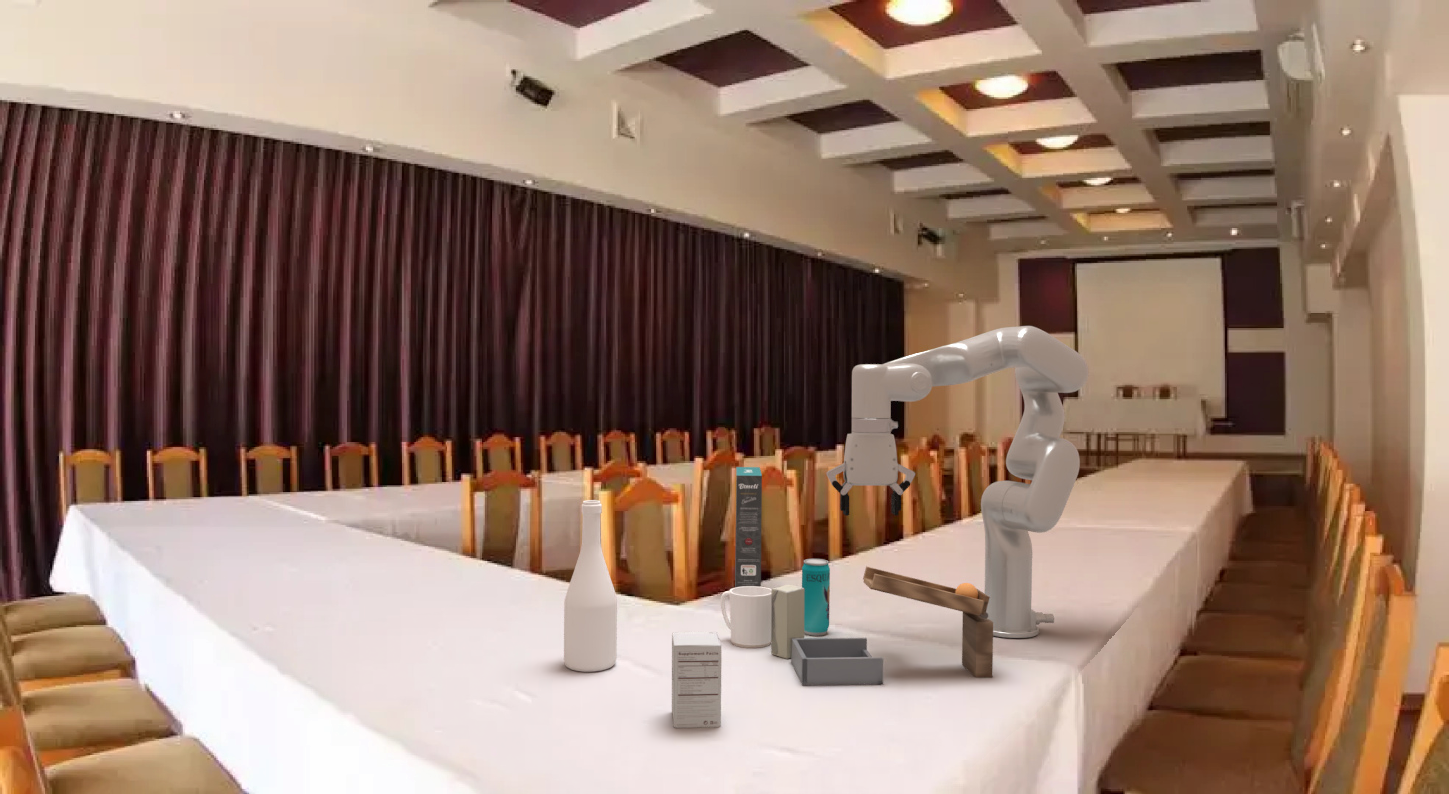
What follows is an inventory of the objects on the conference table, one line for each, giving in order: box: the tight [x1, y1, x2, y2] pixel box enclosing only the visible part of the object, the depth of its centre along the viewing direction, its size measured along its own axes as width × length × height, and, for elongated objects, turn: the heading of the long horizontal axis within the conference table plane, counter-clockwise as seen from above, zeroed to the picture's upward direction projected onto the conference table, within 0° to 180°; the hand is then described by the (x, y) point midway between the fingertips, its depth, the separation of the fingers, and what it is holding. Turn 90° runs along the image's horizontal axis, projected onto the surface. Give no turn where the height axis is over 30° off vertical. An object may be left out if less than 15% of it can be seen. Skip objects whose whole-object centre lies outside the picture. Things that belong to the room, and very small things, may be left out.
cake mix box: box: [734, 466, 763, 588], centre depth 229 cm, size 22×6×30 cm, turn 179°
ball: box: [955, 582, 978, 599], centre depth 167 cm, size 4×4×4 cm
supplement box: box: [671, 631, 722, 729], centre depth 142 cm, size 7×7×13 cm
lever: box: [862, 566, 990, 619], centre depth 171 cm, size 22×16×4 cm
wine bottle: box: [563, 499, 618, 673], centre depth 168 cm, size 10×10×30 cm
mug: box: [720, 586, 772, 649], centre depth 185 cm, size 11×9×10 cm
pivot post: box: [961, 612, 994, 679], centre depth 168 cm, size 3×8×12 cm, turn 4°
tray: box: [790, 637, 884, 686], centre depth 165 cm, size 14×13×4 cm
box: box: [770, 584, 805, 660], centre depth 176 cm, size 5×4×13 cm
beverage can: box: [801, 558, 831, 637], centre depth 192 cm, size 6×6×15 cm
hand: (870, 514), depth 181 cm, fingers open, 9 cm apart
